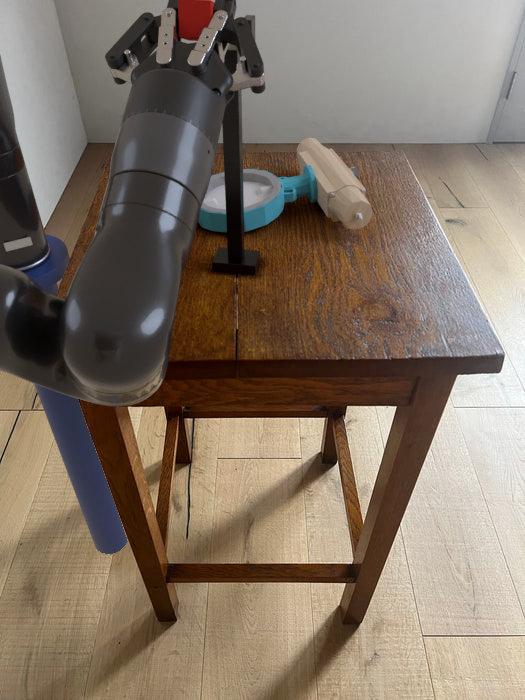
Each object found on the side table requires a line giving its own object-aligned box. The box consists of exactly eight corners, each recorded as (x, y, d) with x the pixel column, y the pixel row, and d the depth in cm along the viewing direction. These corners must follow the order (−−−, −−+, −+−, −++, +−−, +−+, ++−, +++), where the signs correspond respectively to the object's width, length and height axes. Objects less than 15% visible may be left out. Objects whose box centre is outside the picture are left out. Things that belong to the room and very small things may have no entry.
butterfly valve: (191, 279, 81) (389, 236, 84) (181, 237, 76) (391, 193, 79) (173, 196, 101) (333, 163, 103) (164, 159, 96) (332, 126, 99)
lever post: (212, 271, 78) (196, 19, 58) (218, 256, 81) (205, 11, 61) (255, 275, 77) (254, 22, 57) (259, 259, 80) (260, 13, 60)
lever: (178, 37, 48) (178, -2, 46) (218, 49, 62) (218, 20, 60) (210, 38, 47) (211, 0, 46) (243, 50, 61) (244, 21, 60)
